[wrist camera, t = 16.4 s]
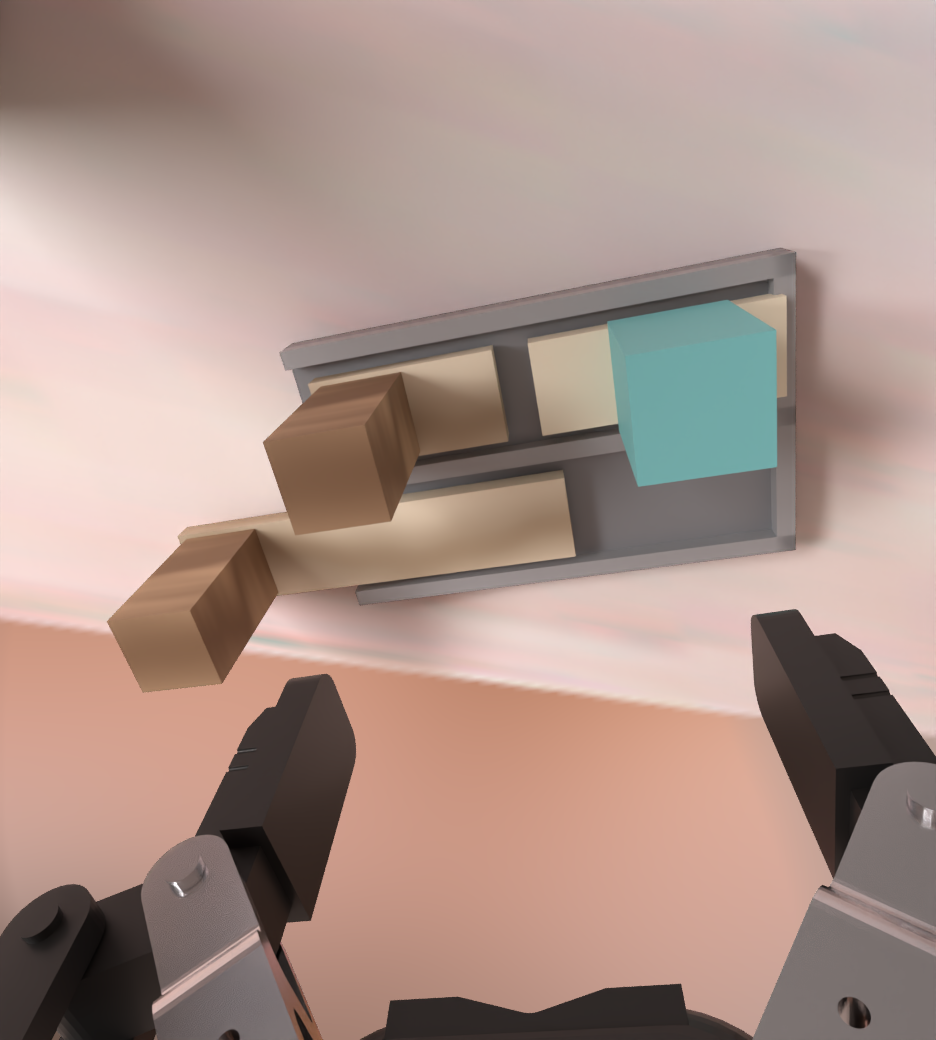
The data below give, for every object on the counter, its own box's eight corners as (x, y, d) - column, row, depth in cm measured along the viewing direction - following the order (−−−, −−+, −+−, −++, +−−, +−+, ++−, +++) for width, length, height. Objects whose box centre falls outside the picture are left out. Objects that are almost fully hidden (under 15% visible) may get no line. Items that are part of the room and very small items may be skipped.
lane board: (292, 343, 31) (275, 354, 29) (780, 247, 28) (800, 253, 26) (367, 586, 37) (357, 610, 35) (783, 531, 33) (799, 555, 31)
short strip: (314, 377, 30) (247, 439, 23) (492, 344, 29) (478, 398, 22) (339, 461, 32) (284, 542, 25) (509, 433, 31) (501, 510, 24)
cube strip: (186, 527, 34) (95, 618, 27) (562, 469, 31) (571, 555, 24) (214, 594, 36) (136, 696, 29) (574, 546, 33) (585, 647, 26)
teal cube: (607, 321, 27) (625, 356, 22) (727, 299, 27) (776, 330, 21) (618, 430, 29) (638, 486, 24) (731, 413, 29) (777, 467, 23)
